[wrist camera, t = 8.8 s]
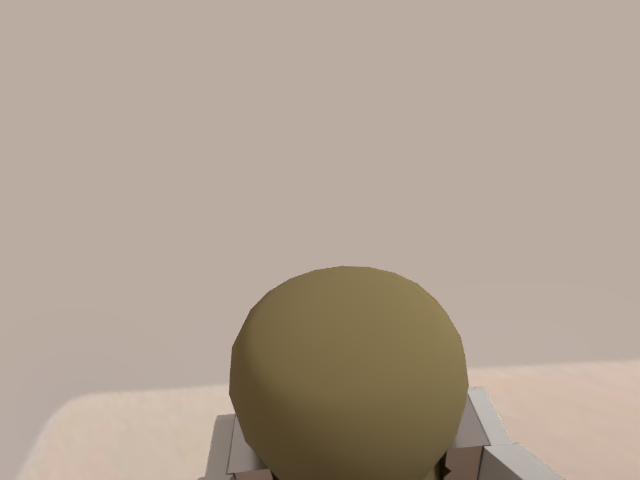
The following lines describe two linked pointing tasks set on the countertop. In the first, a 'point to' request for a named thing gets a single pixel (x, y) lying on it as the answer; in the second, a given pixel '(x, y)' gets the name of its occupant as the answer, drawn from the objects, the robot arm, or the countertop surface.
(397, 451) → the olive chess pawn
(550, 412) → the countertop surface
